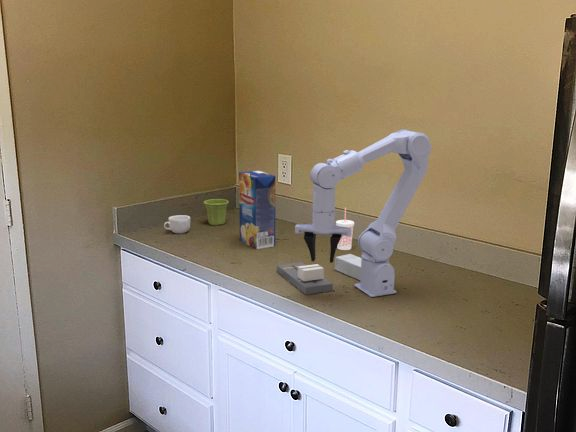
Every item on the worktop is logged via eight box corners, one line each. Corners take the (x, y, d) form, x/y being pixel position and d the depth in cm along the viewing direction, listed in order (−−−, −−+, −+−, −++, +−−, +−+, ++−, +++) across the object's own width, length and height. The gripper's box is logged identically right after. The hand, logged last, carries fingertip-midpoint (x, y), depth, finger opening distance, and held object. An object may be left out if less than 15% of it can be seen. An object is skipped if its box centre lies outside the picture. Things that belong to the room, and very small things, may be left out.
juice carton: (275, 246, 205) (275, 175, 199) (255, 249, 202) (255, 177, 196) (258, 237, 215) (258, 170, 209) (239, 240, 212) (238, 172, 206)
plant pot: (201, 226, 230) (200, 203, 228) (208, 220, 239) (208, 198, 237) (225, 227, 229) (224, 204, 227) (231, 221, 238) (231, 199, 236)
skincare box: (334, 270, 182) (361, 283, 172) (334, 255, 180) (361, 268, 171) (350, 266, 185) (377, 278, 175) (351, 252, 184) (378, 264, 174)
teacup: (184, 228, 227) (184, 214, 226) (194, 232, 221) (194, 218, 220) (159, 232, 221) (159, 217, 220) (169, 237, 215) (168, 222, 214)
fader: (323, 278, 167) (323, 267, 166) (303, 281, 165) (303, 270, 164) (317, 274, 171) (317, 263, 170) (297, 276, 168) (297, 266, 168)
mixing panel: (332, 290, 165) (332, 283, 164) (305, 294, 162) (305, 287, 161) (301, 268, 183) (301, 261, 182) (277, 271, 180) (277, 265, 179)
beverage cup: (348, 244, 208) (350, 204, 204) (356, 249, 202) (358, 208, 199) (332, 246, 206) (333, 205, 202) (339, 251, 200) (340, 209, 197)
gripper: (353, 208, 159) (351, 258, 162) (299, 205, 162) (298, 254, 165) (350, 214, 152) (348, 266, 155) (293, 211, 155) (293, 262, 158)
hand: (322, 260), depth 160 cm, fingers open, 4 cm apart
